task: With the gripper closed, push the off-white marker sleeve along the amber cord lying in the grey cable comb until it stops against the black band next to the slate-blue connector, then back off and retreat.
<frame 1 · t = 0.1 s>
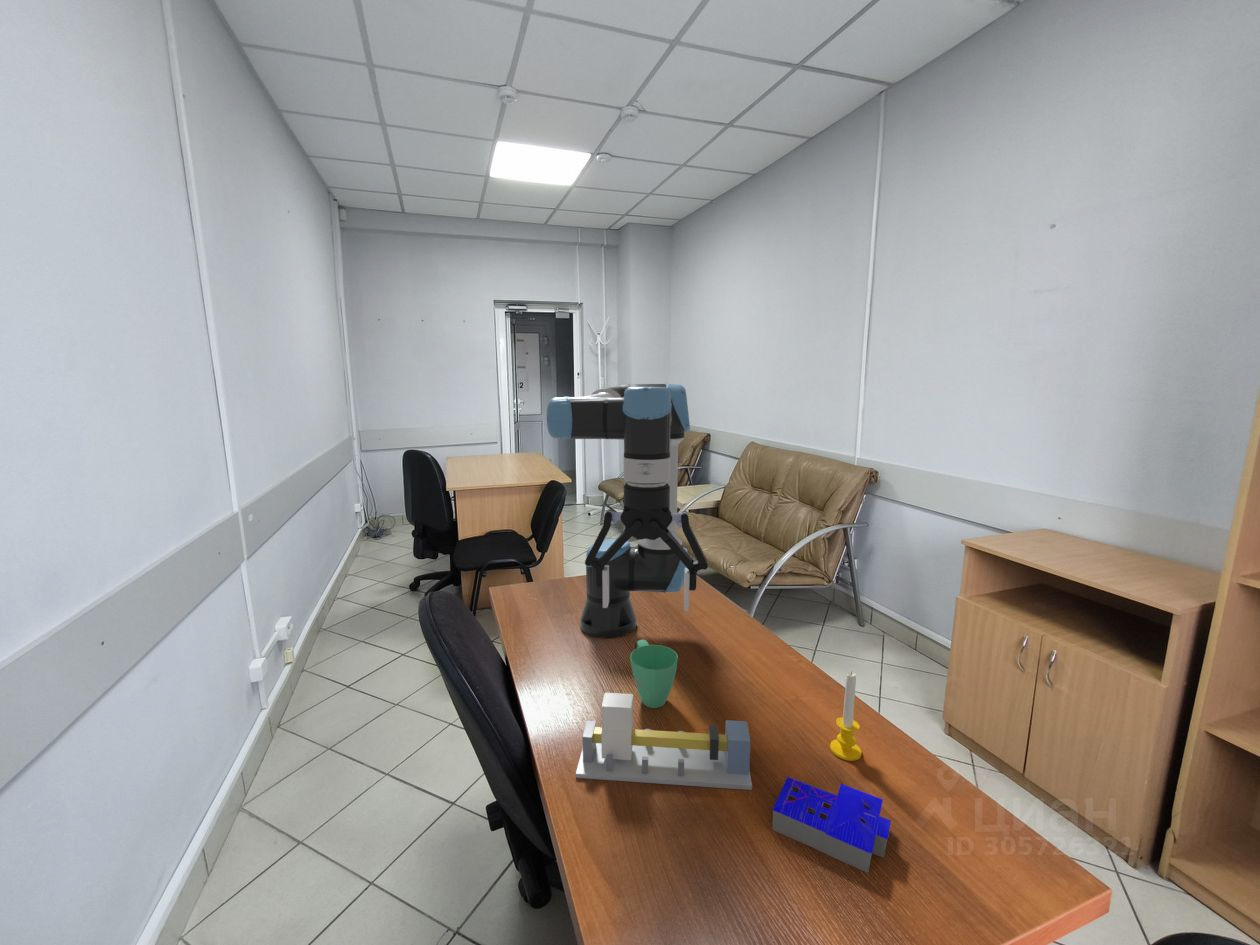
hand: (645, 606, 89), 28 cm above the table, fingers open, 13 cm apart
comb rig: (663, 762, 92), on the table
sleeve: (617, 724, 92), point 7 cm above the table, slide at 0.0 cm
candle: (845, 751, 95), on the table
mug: (649, 695, 112), on the table
house: (831, 829, 79), on the table
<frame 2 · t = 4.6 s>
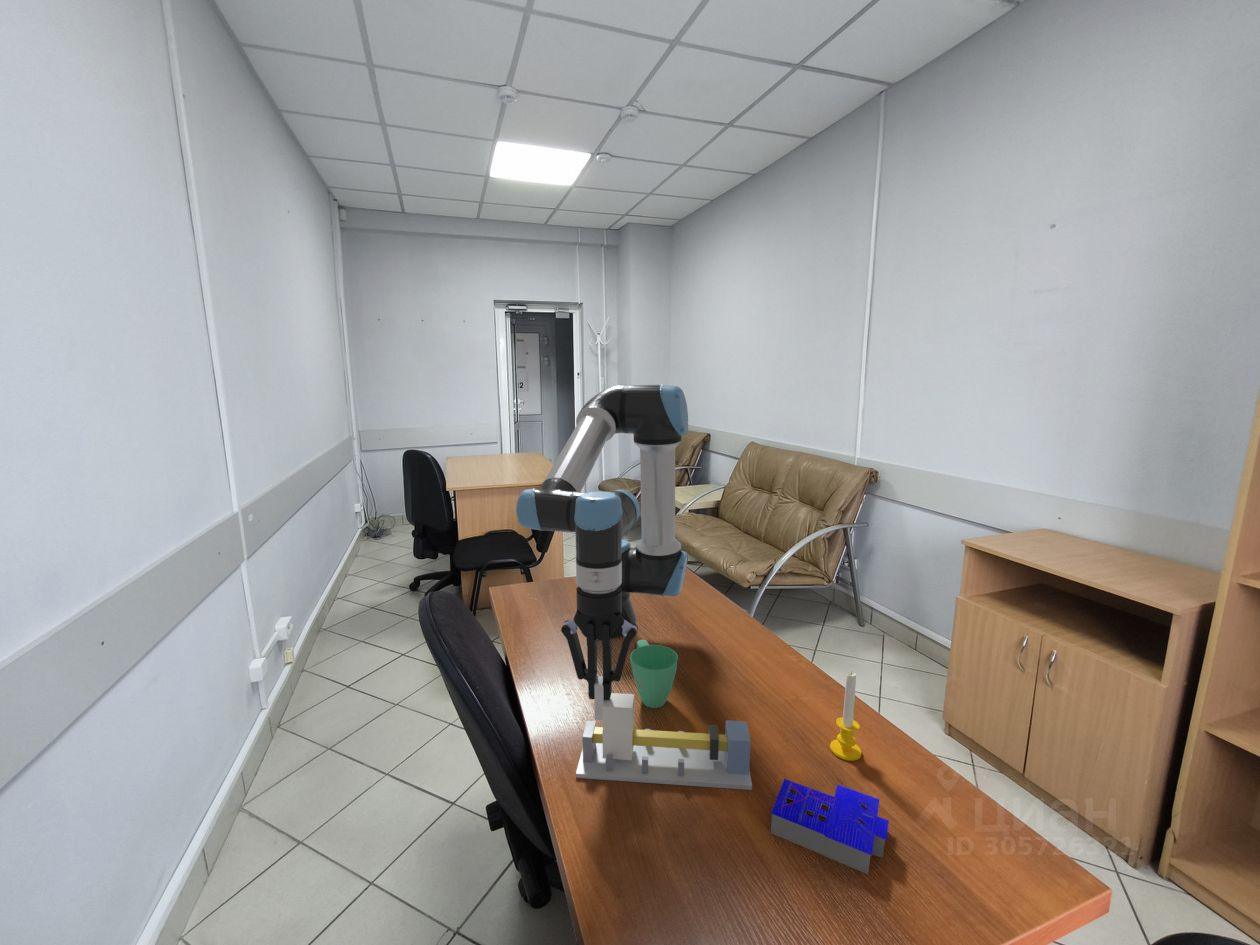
hand: (600, 714, 92), 8 cm above the table, fingers closed
sleeve: (618, 724, 92), point 7 cm above the table, slide at 0.2 cm, touching gripper
everything else where it was.
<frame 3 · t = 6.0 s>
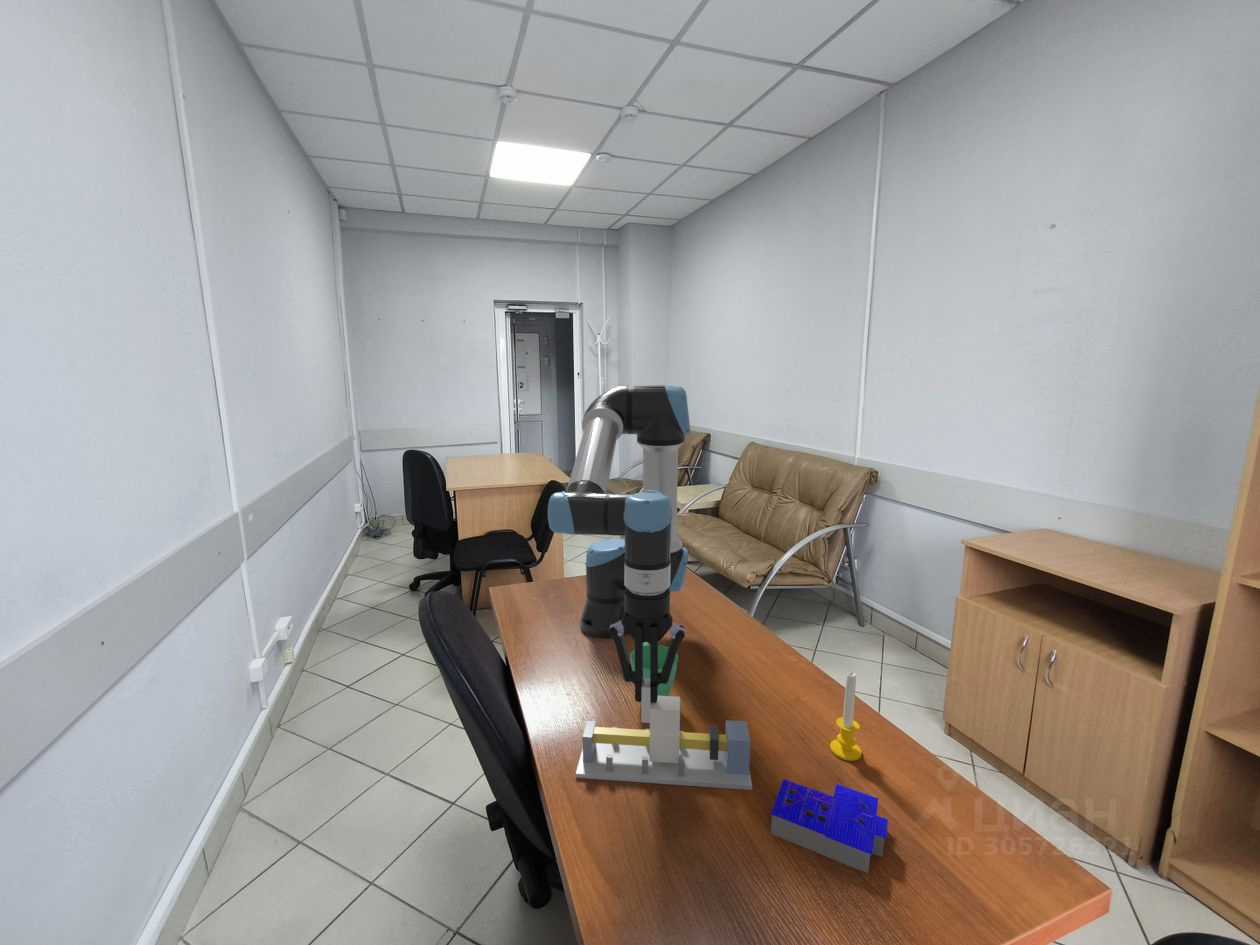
hand: (646, 717, 91), 8 cm above the table, fingers closed
sleeve: (664, 727, 91), point 7 cm above the table, slide at 8.2 cm, touching gripper
everything else where it was.
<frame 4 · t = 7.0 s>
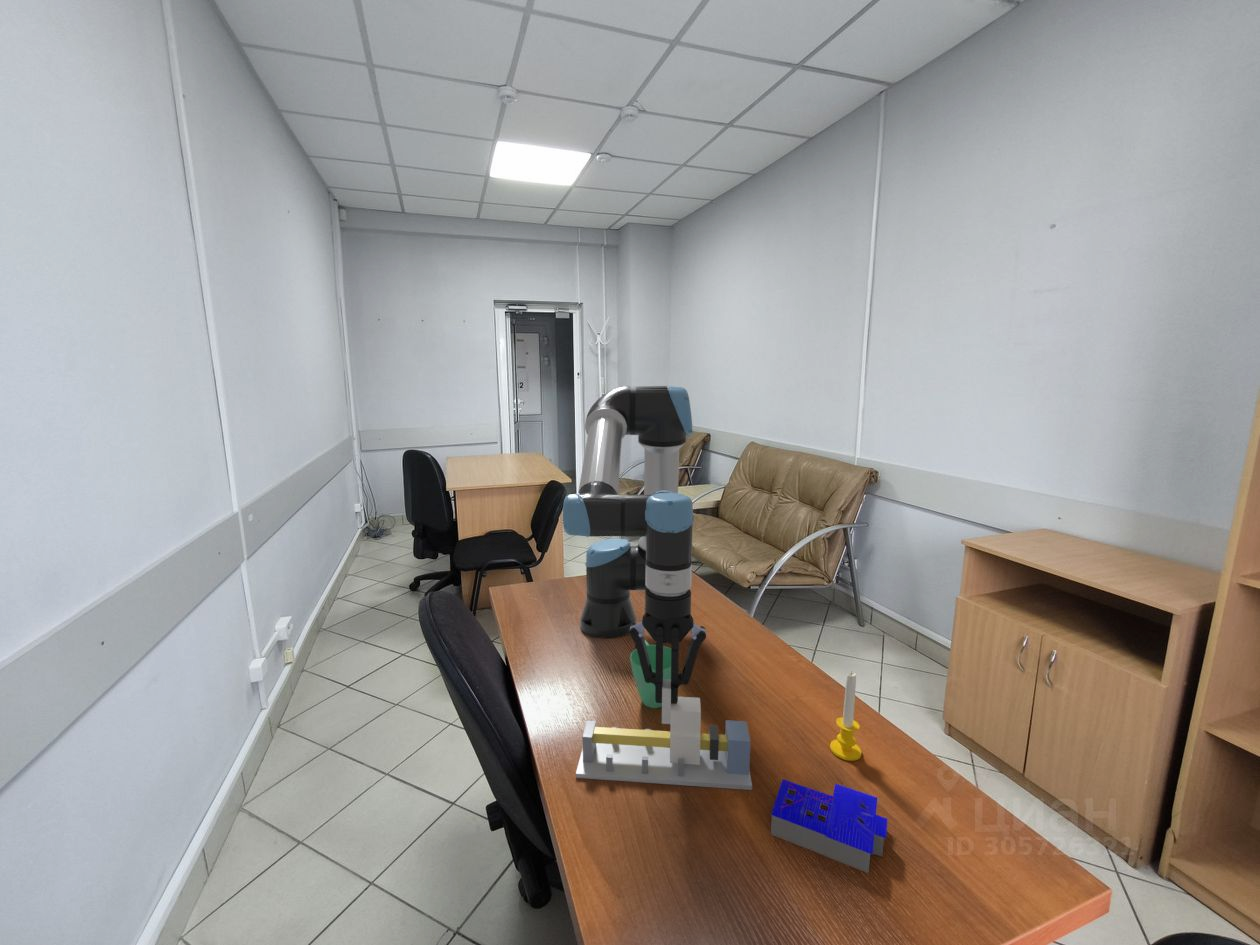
hand: (666, 718, 91), 8 cm above the table, fingers closed
sleeve: (685, 728, 91), point 7 cm above the table, slide at 11.6 cm, touching gripper
everything else where it was.
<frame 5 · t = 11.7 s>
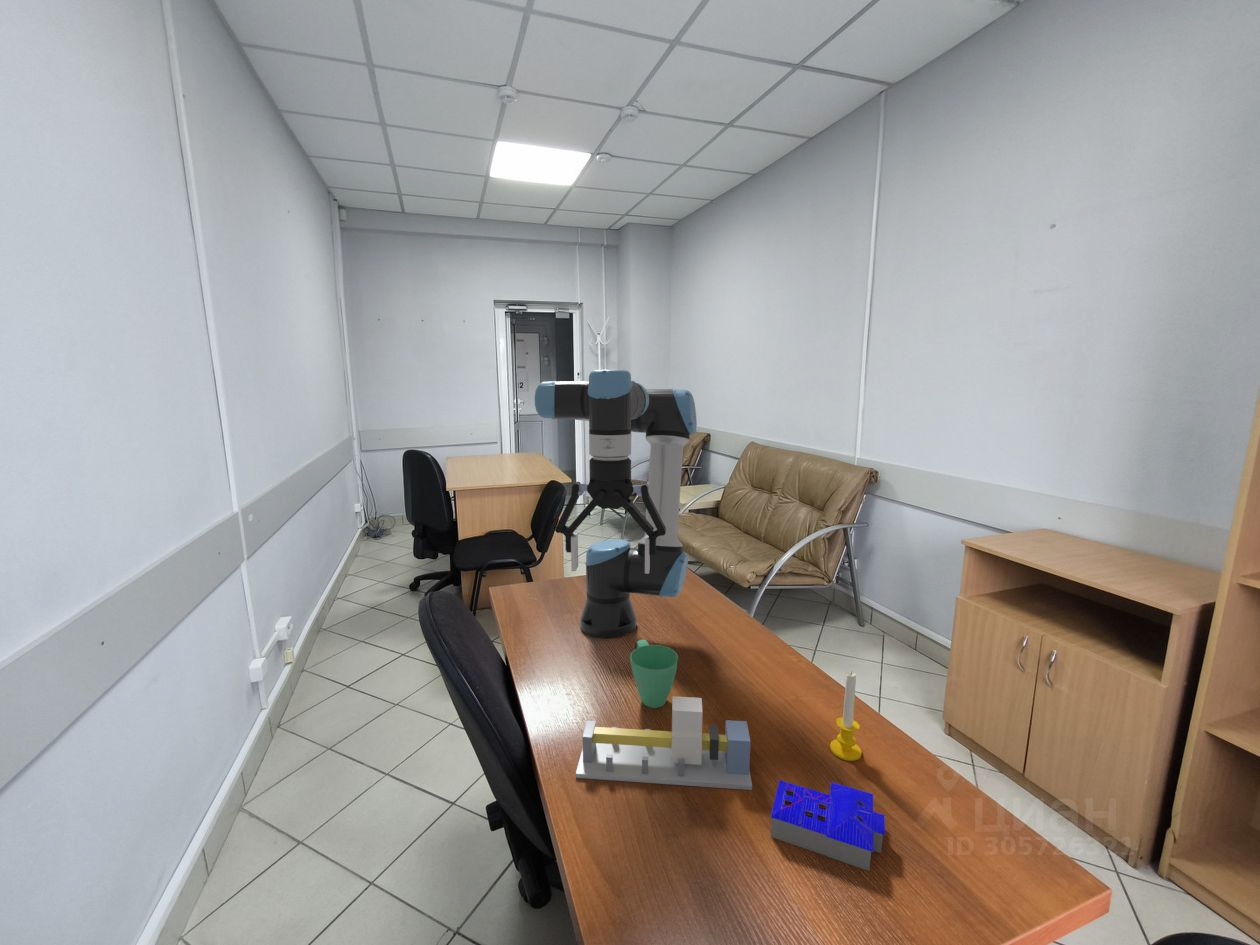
hand: (610, 570, 99), 31 cm above the table, fingers open, 13 cm apart
sleeve: (686, 729, 91), point 7 cm above the table, slide at 11.9 cm
everything else where it was.
at the end: sleeve slide at 11.9 cm; the gripper is holding nothing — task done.
